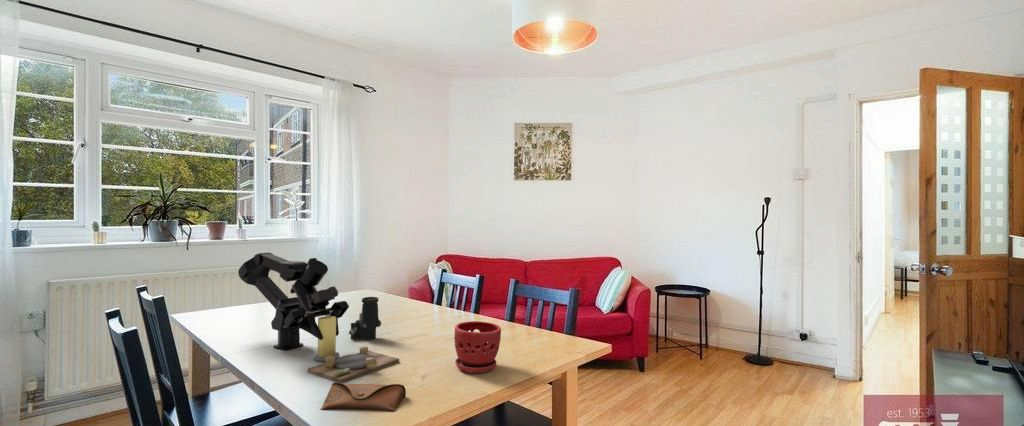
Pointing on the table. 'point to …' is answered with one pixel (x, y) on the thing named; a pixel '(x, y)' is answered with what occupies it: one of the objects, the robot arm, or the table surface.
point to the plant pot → (476, 346)
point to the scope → (366, 320)
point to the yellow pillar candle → (327, 339)
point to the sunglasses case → (364, 397)
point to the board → (352, 365)
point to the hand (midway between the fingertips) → (329, 336)
